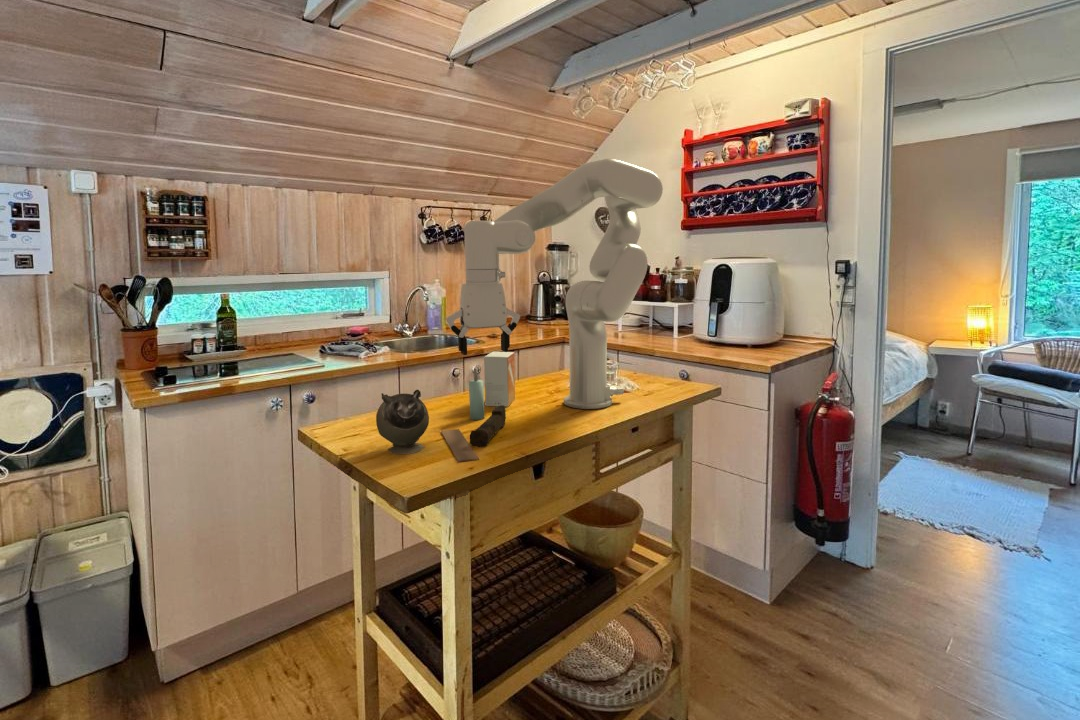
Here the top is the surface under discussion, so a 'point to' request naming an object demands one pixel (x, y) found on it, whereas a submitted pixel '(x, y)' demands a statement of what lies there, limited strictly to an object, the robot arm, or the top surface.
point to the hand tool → (488, 428)
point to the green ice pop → (476, 397)
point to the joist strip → (459, 445)
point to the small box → (499, 378)
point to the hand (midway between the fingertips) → (484, 352)
